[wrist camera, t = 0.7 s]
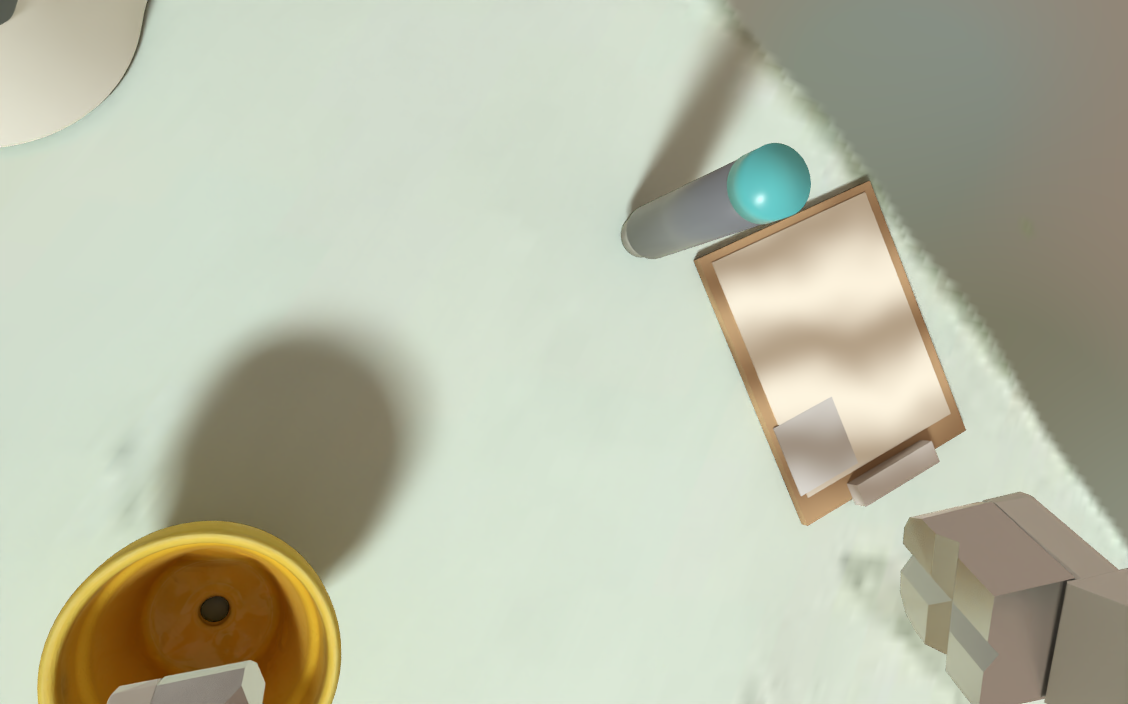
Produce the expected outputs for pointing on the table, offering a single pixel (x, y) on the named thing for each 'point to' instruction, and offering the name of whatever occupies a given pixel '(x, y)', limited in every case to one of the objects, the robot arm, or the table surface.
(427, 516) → the table surface
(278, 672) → the plant pot
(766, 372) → the clipboard
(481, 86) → the table surface
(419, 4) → the table surface
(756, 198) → the marker
